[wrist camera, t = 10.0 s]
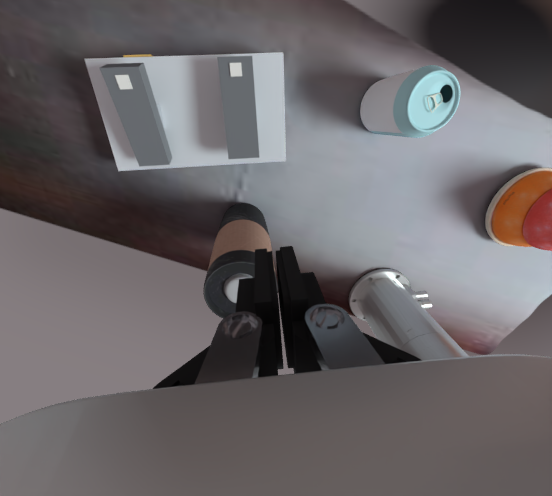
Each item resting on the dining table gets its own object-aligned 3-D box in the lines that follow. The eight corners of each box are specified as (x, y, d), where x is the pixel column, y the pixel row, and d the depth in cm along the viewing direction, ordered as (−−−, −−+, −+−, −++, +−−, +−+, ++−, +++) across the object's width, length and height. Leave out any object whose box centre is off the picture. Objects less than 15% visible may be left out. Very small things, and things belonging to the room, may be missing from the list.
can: (373, 70, 36) (427, 48, 25) (414, 91, 38) (480, 80, 27) (350, 123, 39) (389, 123, 28) (389, 141, 40) (440, 148, 30)
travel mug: (219, 240, 45) (199, 320, 27) (223, 197, 42) (204, 255, 24) (262, 246, 46) (272, 325, 28) (270, 205, 43) (285, 265, 25)
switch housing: (278, 58, 34) (284, 46, 29) (281, 156, 40) (287, 162, 34) (105, 64, 33) (76, 52, 27) (133, 165, 38) (113, 172, 33)
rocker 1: (143, 62, 26) (137, 67, 25) (172, 157, 33) (169, 165, 32) (106, 63, 26) (98, 68, 25) (143, 159, 33) (139, 166, 32)
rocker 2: (252, 62, 29) (252, 55, 27) (258, 157, 32) (259, 157, 30) (219, 63, 29) (216, 56, 27) (229, 159, 32) (228, 159, 30)
